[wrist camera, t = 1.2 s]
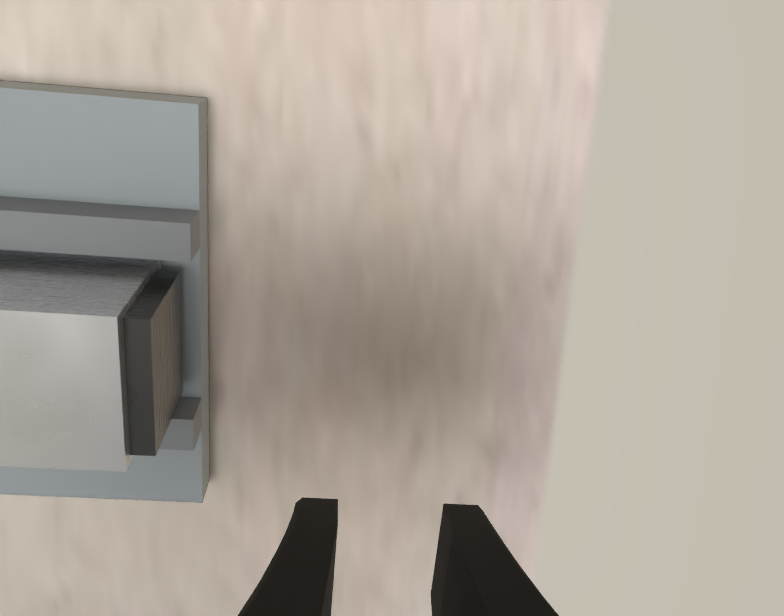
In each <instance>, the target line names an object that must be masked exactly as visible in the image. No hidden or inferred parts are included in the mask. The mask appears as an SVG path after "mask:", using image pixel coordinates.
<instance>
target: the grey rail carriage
mask: <svg viewBox="0 0 784 616" xmlns="http://www.w3.org/2000/svg"><path fill="white" fill-rule="evenodd" d="M182 393H183V347H182V300H181V270H172V269H161V260H153V259H138V258H123V257H108V256H93V255H78V254H63V253H48V252H33V251H19V250H4V249H0V466H6V467H28V468H51V469H73V470H95V471H118V472H126V471H127V469H128V467H129V464H130V462H131V460H132V458H133V456H134V455H140V456H156V454H157V452H158V450H159V447H160V445H161V443H162V440H163V438H164V435H165V433H166V431H167V428H168V426H169V424H170V421H171V419H172V417H173V414H174V412H175V409H176V407H177V405H178V402H179V400H180V398H181V395H182Z"/></svg>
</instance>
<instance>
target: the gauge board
mask: <svg viewBox="0 0 784 616" xmlns="http://www.w3.org/2000/svg"><path fill="white" fill-rule="evenodd" d="M0 249H4V250H19V251H33V252H48V253H63V254H78V255H93V256H108V257H123V258H138V259H153V260H161V269H172V270H181V300H182V347H183V393H182V395H181V398H180V400H179V402H178V405H177V407H176V409H175V412H174V414H173V417H172V419H171V421H170V424H169V426H168V428H167V431H166V433H165V435H164V438H163V440H162V443H161V445H160V447H159V450H158V452H157V454H156V456H140V455H134V456H133V458H132V460H131V462H130V464H129V467H128V469H127V471H126V472H118V471H95V470H73V469H51V468H28V467H6V466H0V494H9V495H33V496H57V497H81V498H104V499H128V500H152V501H176V502H200V503H203V499H204V496H205V492H206V489H207V486H208V482H209V336H208V174H207V98H204V97H192V96H180V95H168V94H157V93H145V92H133V91H121V90H109V89H97V88H86V87H74V86H62V85H50V84H38V83H26V82H15V81H3V80H0Z"/></svg>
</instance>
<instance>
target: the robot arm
mask: <svg viewBox="0 0 784 616" xmlns="http://www.w3.org/2000/svg"><path fill="white" fill-rule="evenodd" d="M337 526H338V499H321V498H302V499H300V500H299V501H298V502H296V504H295V508H294V512H293V515H292V518H291V520H290V523H289V526H288V528H287V530H286V533H285V535H284V537H283V539H282V541H281V543H280V545H279V547H278V549H277V551H276V553H275V555H274V557H273V559H272V560H271V562H270V564H269V566H268V568H267V570H266V571H265V573H264V575H263V577H262V579H261V580H260V582H259V584H258V585H257V587H256V588H255V590H254V592H253V593H252V595H251V596H250V598H249V599H248V601H247V602H246V604H245V605H244V607H243V609H242V610H241V612H240V613H239V615H238V616H331V605H332V592H333V579H334V566H335V552H336V539H337ZM431 604H432V616H559V615H558V614H557V613H556V612H555V611H554V609H553V608H552V607H551V606H550V604H549V603H548V602H547V601H546V600H545V598H544V597H543V596H542V595H541V593H540V592H539V590H538V589H537V588H536V587H535V585H534V584H533V583H532V581H531V580H530V579H529V577H528V576H527V575H526V573H525V572H524V571H523V569H522V568H521V567H520V565H519V564H518V562H517V561H516V560H515V558H514V557H513V555H512V554H511V553H510V551H509V550H508V548H507V547H506V545H505V544H504V542H503V541H502V539H501V538H500V536H499V535H498V533H497V532H496V530H495V529H494V527H493V526H492V524H491V523H490V521H489V520H488V518H487V516H486V515H485V513H484V512H483V510H482V509H481V508H480V507H479V506H478V505H461V504H444V505H443V512H442V519H441V526H440V533H439V540H438V547H437V554H436V561H435V568H434V575H433V582H432V589H431Z"/></svg>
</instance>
